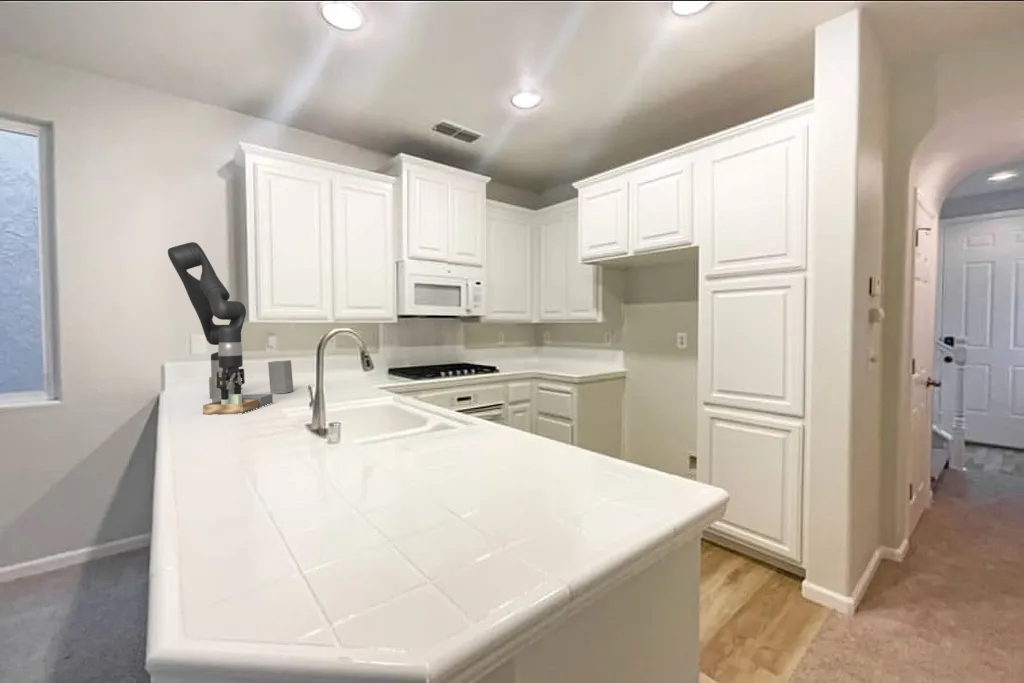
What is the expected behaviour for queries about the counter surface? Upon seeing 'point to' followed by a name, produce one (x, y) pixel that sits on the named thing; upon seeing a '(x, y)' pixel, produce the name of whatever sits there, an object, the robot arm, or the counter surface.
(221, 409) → the tray
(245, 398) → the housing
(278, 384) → the skincare box
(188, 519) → the counter surface
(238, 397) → the cover
